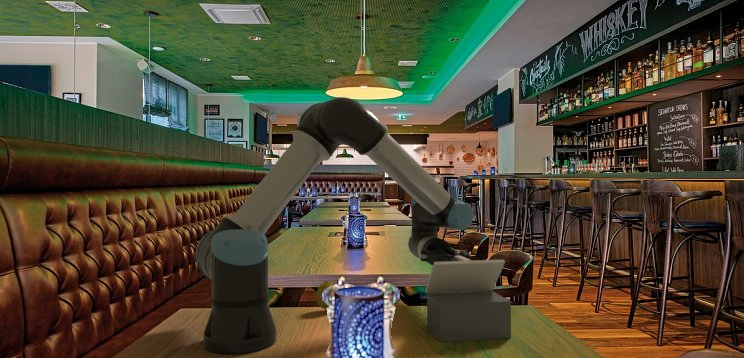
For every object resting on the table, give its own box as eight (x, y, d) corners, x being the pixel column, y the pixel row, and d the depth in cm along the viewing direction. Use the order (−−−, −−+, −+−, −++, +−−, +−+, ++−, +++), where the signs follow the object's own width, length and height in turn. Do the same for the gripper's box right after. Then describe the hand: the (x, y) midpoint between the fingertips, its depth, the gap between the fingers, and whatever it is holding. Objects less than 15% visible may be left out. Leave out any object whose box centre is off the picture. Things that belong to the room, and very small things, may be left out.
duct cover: (434, 264, 110) (434, 261, 111) (426, 293, 117) (425, 290, 117) (505, 262, 113) (503, 259, 114) (492, 290, 120) (491, 287, 120)
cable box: (440, 342, 107) (440, 304, 107) (427, 328, 117) (426, 294, 117) (510, 337, 110) (510, 301, 110) (491, 324, 120) (491, 291, 120)
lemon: (334, 314, 129) (334, 283, 129) (313, 313, 130) (313, 282, 130) (340, 309, 134) (340, 279, 134) (320, 308, 135) (320, 278, 135)
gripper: (457, 263, 140) (494, 280, 116) (411, 265, 137) (440, 283, 114) (457, 236, 140) (494, 248, 116) (411, 238, 137) (440, 250, 114)
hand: (467, 265), depth 115 cm, fingers closed
